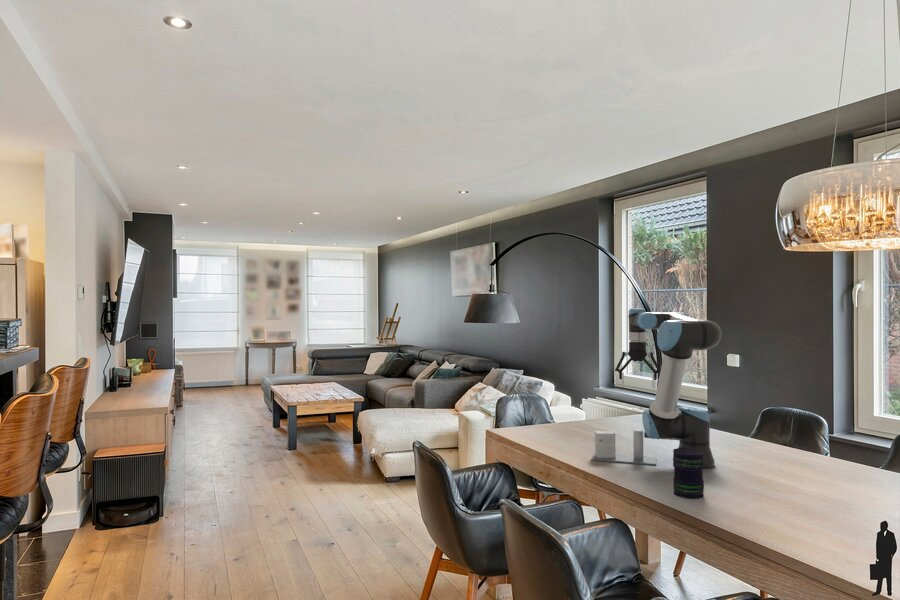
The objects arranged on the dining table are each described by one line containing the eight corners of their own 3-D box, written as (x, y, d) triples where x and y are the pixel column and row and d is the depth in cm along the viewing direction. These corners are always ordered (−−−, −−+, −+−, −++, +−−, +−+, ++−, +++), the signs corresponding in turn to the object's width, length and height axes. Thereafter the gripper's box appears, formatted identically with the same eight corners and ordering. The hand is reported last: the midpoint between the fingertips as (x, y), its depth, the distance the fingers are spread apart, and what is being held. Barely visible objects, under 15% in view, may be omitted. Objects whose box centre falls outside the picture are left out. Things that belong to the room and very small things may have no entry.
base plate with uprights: (655, 458, 249) (655, 429, 249) (656, 465, 238) (655, 434, 238) (593, 453, 257) (593, 425, 258) (591, 460, 246) (591, 430, 246)
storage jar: (685, 500, 194) (685, 455, 194) (667, 491, 203) (666, 449, 203) (710, 497, 196) (710, 453, 197) (690, 489, 206) (690, 447, 206)
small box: (613, 455, 252) (613, 430, 253) (615, 458, 247) (615, 433, 247) (594, 454, 253) (594, 430, 253) (596, 457, 248) (596, 433, 248)
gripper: (665, 341, 270) (666, 387, 269) (610, 340, 278) (610, 385, 277) (665, 341, 263) (666, 388, 262) (609, 341, 271) (609, 386, 270)
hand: (638, 387), depth 270 cm, fingers open, 13 cm apart
